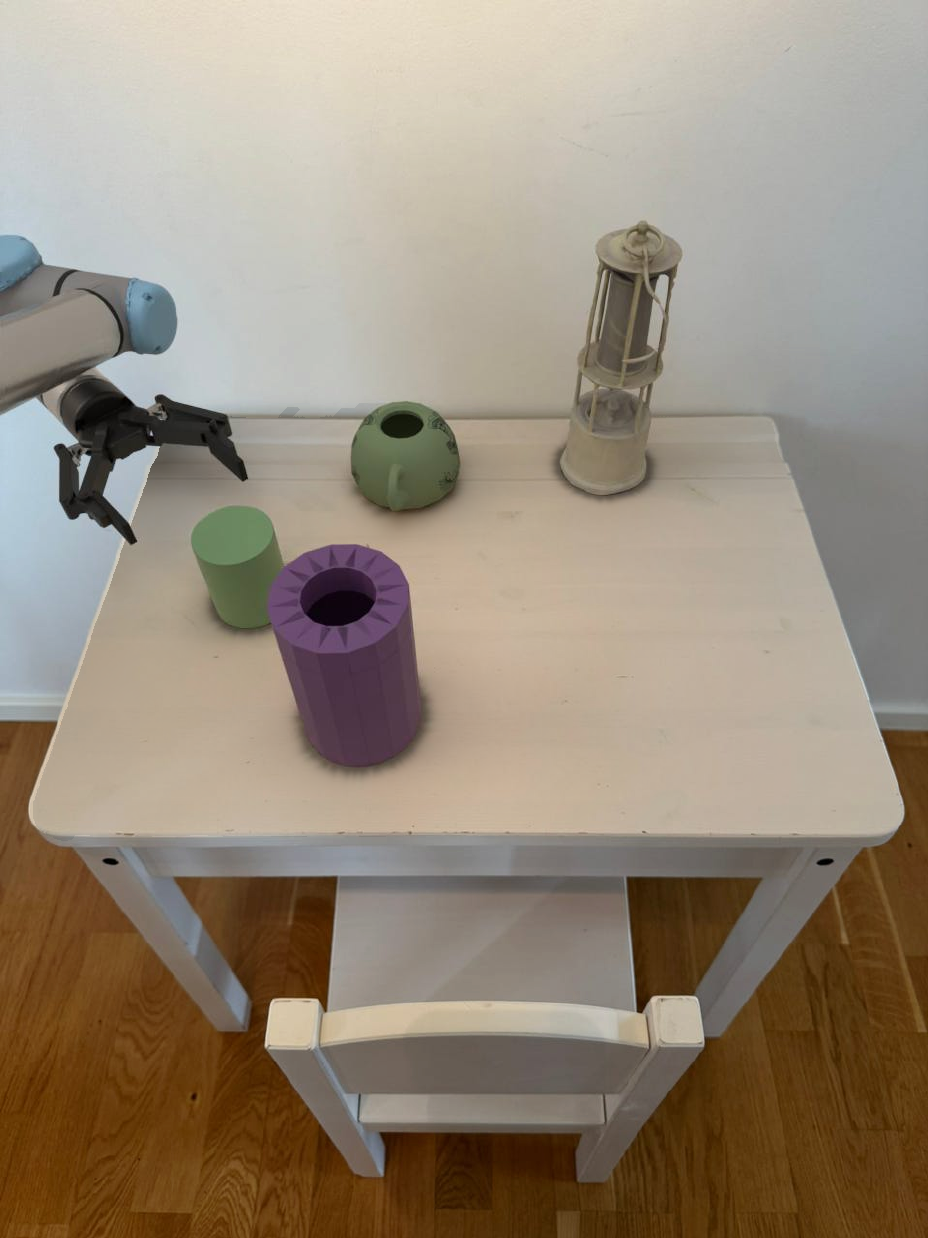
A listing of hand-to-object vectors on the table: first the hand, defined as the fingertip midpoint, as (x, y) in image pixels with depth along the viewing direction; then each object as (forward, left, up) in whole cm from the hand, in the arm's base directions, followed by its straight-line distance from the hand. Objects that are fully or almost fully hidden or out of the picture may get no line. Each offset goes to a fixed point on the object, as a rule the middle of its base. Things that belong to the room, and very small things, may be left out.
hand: (188, 502), depth 90 cm
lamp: (+35, +32, -8) cm, 48 cm away
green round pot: (+15, +19, -8) cm, 25 cm away
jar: (+27, -10, -8) cm, 30 cm away
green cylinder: (+9, -3, -8) cm, 12 cm away
